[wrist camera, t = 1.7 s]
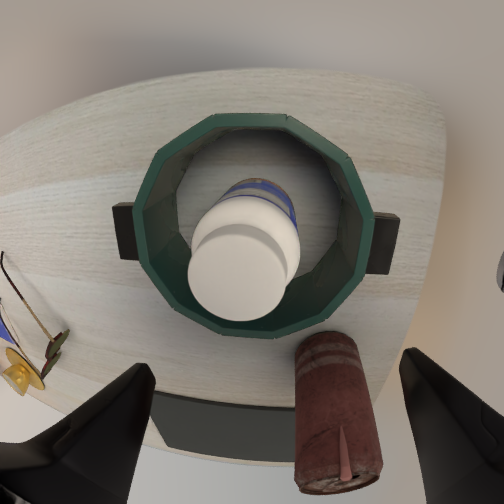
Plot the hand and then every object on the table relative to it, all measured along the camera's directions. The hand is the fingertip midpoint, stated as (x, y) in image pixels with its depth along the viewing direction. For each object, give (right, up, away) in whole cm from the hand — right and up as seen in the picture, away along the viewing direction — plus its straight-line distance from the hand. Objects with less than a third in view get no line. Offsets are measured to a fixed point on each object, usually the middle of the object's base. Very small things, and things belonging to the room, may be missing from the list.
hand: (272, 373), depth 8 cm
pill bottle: (0, +7, +11) cm, 13 cm away
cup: (-49, -21, +29) cm, 60 cm away
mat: (-3, -23, +25) cm, 34 cm away
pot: (0, +7, +11) cm, 13 cm away
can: (+6, -6, +16) cm, 18 cm away
